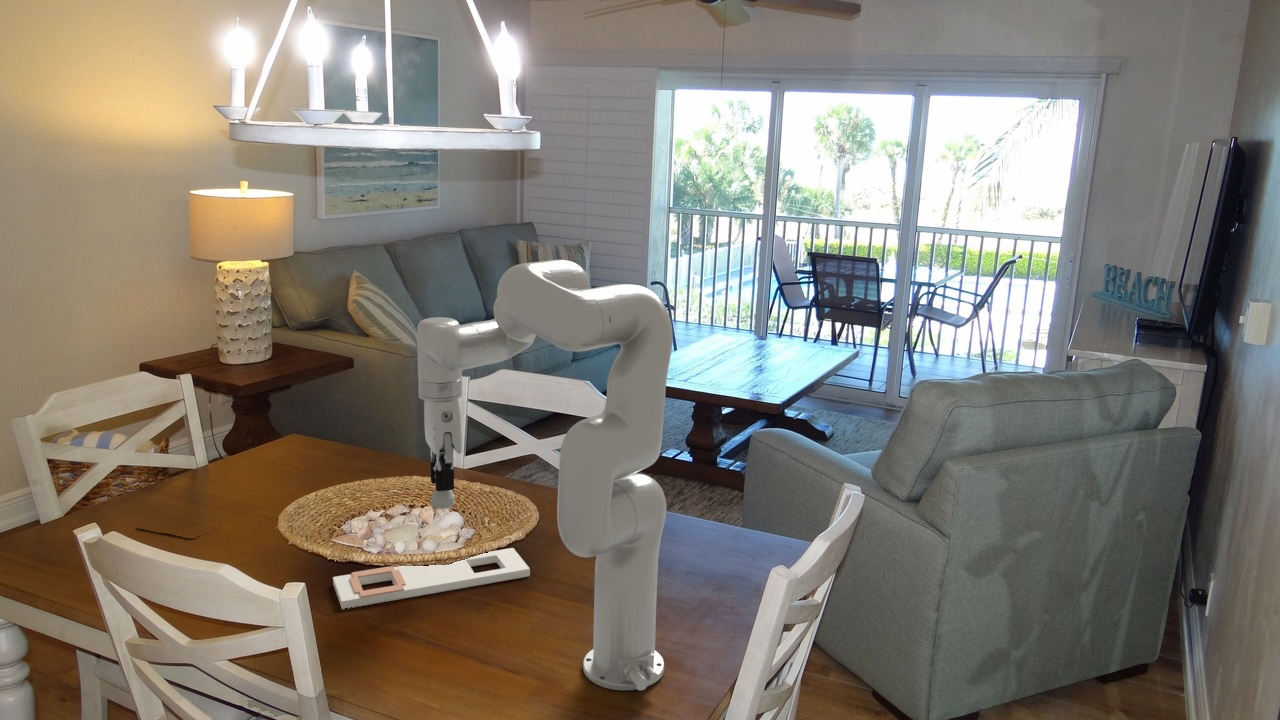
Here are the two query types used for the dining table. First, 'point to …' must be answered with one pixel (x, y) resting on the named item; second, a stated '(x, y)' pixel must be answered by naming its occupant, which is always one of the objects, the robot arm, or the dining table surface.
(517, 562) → the white board with slots
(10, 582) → the dining table surface
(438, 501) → the rook chess piece
